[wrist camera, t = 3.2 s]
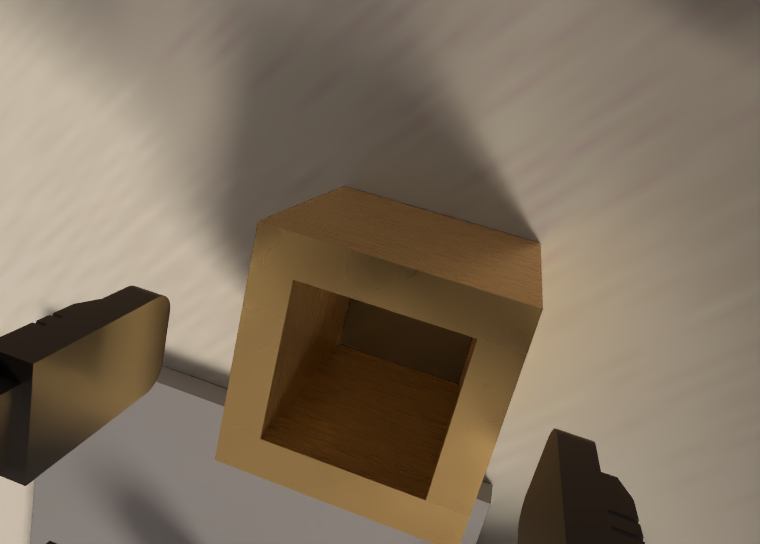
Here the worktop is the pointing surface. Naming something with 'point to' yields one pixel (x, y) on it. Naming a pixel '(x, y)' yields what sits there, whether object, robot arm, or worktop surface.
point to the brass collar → (377, 359)
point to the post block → (188, 485)
